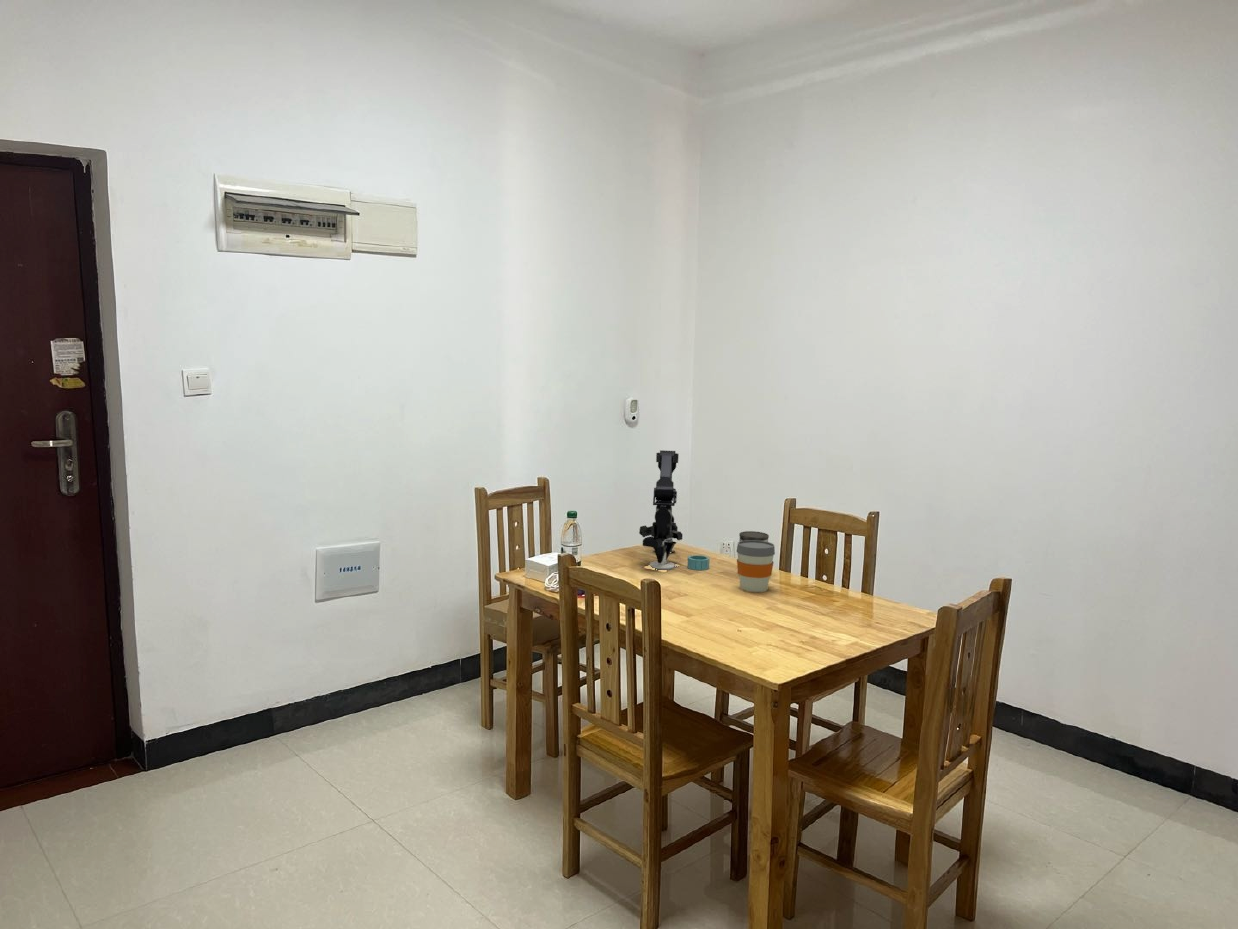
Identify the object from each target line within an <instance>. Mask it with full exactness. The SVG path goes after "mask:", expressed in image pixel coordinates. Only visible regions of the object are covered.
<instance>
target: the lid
mask: <svg viewBox="0 0 1238 929" xmlns="http://www.w3.org/2000/svg"><path fill="white" fill-rule="evenodd" d="M674 563H675V562H671V561H667V560H666V551H665V554H664V557H663V560H662V563H658V560H655V561H651V562H649V564H650V566H651V567H652V568H655V569H672V568H674V567H675V564H674ZM672 570H673V569H672Z"/></svg>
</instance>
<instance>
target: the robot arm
mask: <svg viewBox="0 0 1238 929" xmlns="http://www.w3.org/2000/svg"><path fill="white" fill-rule="evenodd" d="M655 454H656V455H655V456H656V458H655V462H656V463H657V467H658V469H659V472H660V474H659V479H657V481H656V483H655V487H653V499H652V506H655V514H654V522H652V526H647V525H642V526H640V527H639V532H638V533H639V535H640V536H641V537H642V538H643V539H642V546H643V547H649V548H653V551H652V552H653V553H655V556H656V559H657V560H656V561H658V563H662V560H663V557H664V554H665V551H666V561H667V560H668V558H669V556H670V554H671V553H670V552H674V553H676V550H673V548H674V547H675V546H676V544H677V541H682V540H683V533H682V532H681V531H679V530H678V528H679V527H678V525H677V523H676V522H675V517H674V515H673V507H675V505H676V504H677V497H678V491H677V489H676V488H675V487H674V485H675V484H674V481H673V472H675V469H676V468H677V464H679V457H680V456H679V453H677V452H676V450H660V449H659V452H656V453H655ZM674 539H675V540H677V541H674Z"/></svg>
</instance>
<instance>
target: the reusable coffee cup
mask: <svg viewBox="0 0 1238 929" xmlns="http://www.w3.org/2000/svg"><path fill="white" fill-rule="evenodd" d="M736 553H737V559H736V565H737V566H736V567H737V574H738V575H739V588H740V589H741V590H742V589H744V590H743V591H745V590H746V592H750V593H751V592H752V593H762V592H766V591H768V588H769V582H770V577H771V576H772V572H773V567H774V555H775V554H776V552H775V544H774V543H772V542H769V541H768V542H766V541H759V540H745V541H740V542H739V541H738V542H737V546H736Z"/></svg>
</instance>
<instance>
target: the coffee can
mask: <svg viewBox="0 0 1238 929" xmlns="http://www.w3.org/2000/svg"><path fill="white" fill-rule="evenodd" d="M769 538H770V536H769V534H768V533H766V532H762V531H753V530H750V531H749V530H746V531H741V532H739V540H738V542H740V541H745V540H759V541H766V542H769Z"/></svg>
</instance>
